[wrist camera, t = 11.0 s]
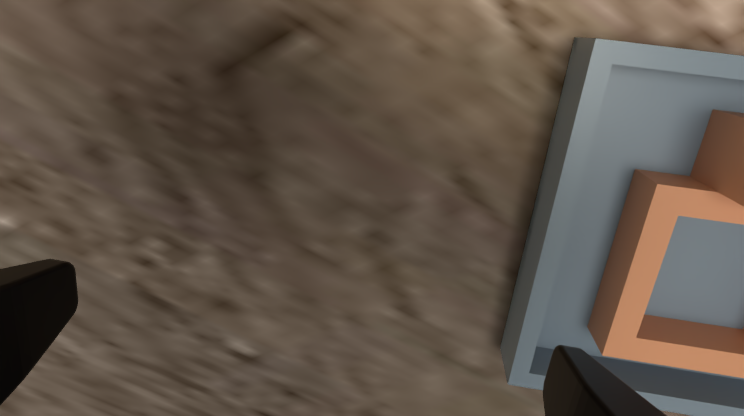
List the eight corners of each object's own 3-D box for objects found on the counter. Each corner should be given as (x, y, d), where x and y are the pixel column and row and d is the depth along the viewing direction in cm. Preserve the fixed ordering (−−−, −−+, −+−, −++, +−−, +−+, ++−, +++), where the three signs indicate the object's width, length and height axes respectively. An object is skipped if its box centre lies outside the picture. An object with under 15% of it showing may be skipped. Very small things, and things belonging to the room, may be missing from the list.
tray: (810, 398, 22) (855, 443, 19) (500, 347, 23) (507, 384, 20) (972, 84, 17) (1058, 93, 15) (574, 37, 18) (595, 38, 16)
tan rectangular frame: (759, 353, 21) (830, 424, 17) (587, 326, 21) (620, 390, 18) (860, 127, 17) (977, 154, 14) (655, 102, 18) (713, 120, 14)
